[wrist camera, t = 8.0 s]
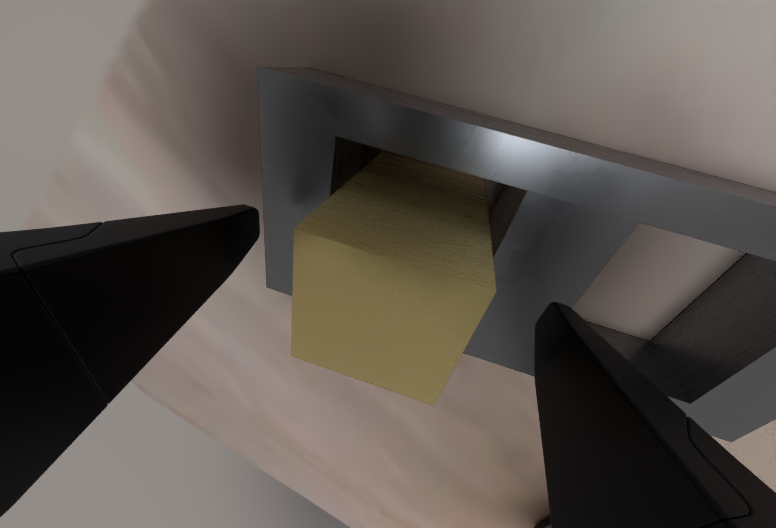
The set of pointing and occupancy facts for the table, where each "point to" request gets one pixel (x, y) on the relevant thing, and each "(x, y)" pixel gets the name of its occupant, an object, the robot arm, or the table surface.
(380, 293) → the olive grained block
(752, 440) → the table surface
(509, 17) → the table surface
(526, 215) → the grey block holder tray
